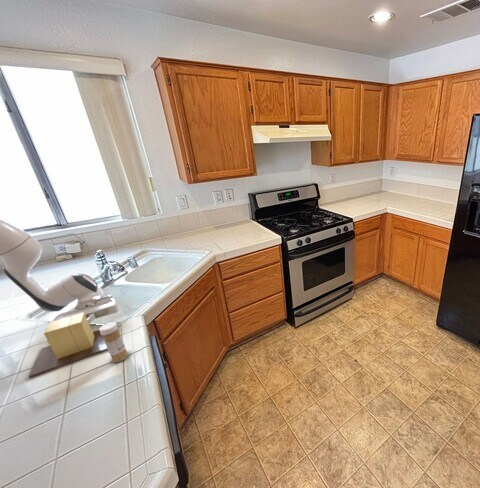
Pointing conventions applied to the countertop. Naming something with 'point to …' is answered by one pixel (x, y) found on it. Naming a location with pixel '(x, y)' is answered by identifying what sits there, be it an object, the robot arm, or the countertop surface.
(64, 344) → the butter block
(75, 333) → the butter slice
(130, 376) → the countertop surface
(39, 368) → the walnut board
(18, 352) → the countertop surface
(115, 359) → the sprinkles bottle
